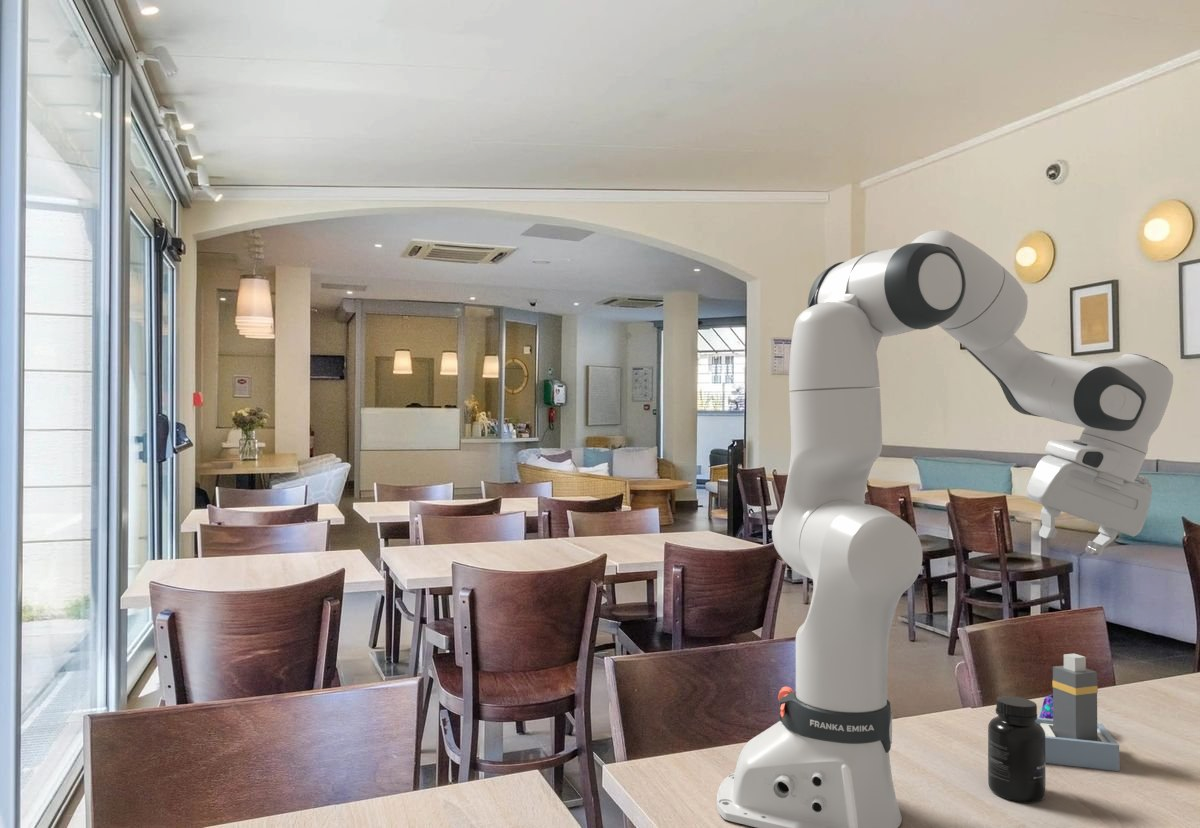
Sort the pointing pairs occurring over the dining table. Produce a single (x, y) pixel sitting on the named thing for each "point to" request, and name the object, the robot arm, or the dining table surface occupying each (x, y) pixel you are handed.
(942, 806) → the dining table surface
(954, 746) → the dining table surface
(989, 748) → the supplement bottle
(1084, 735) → the grey bottle
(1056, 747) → the walled box
